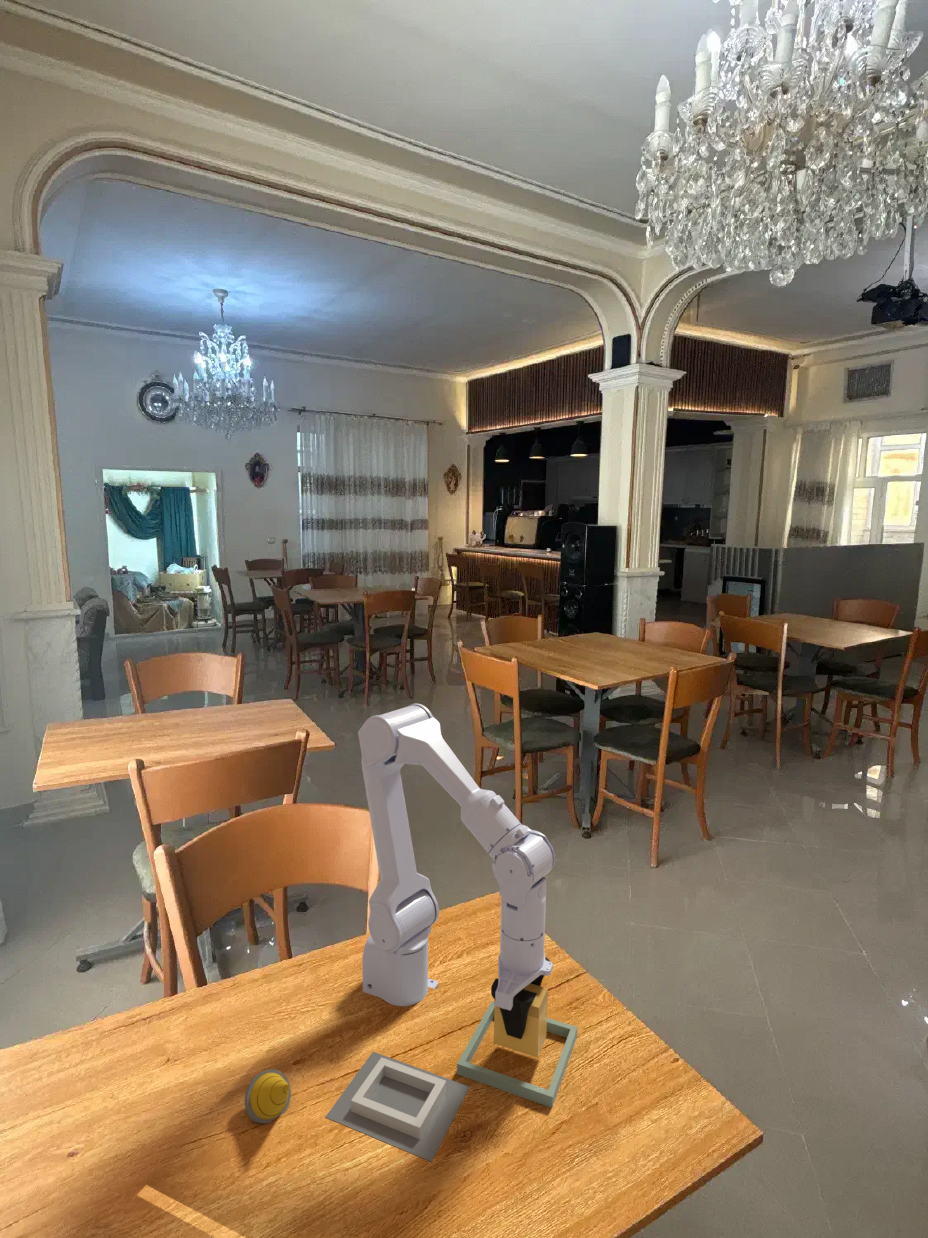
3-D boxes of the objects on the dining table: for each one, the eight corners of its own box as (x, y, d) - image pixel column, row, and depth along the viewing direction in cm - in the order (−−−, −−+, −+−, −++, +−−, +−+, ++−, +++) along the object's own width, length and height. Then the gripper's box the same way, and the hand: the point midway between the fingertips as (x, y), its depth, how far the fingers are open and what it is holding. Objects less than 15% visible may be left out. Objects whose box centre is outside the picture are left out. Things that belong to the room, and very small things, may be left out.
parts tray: (456, 1079, 87) (457, 1064, 86) (491, 1015, 98) (491, 1001, 98) (552, 1113, 82) (552, 1097, 81) (577, 1041, 93) (577, 1027, 93)
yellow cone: (287, 1089, 85) (318, 1073, 79) (264, 1137, 81) (296, 1125, 75) (252, 1066, 85) (281, 1049, 79) (227, 1113, 81) (256, 1099, 75)
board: (325, 1123, 80) (324, 1106, 80) (372, 1057, 90) (372, 1041, 90) (431, 1168, 75) (431, 1149, 74) (469, 1092, 85) (470, 1076, 84)
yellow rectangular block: (493, 1043, 89) (494, 995, 88) (504, 1023, 92) (505, 976, 92) (537, 1058, 86) (539, 1008, 86) (546, 1036, 90) (547, 988, 89)
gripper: (535, 969, 79) (532, 1073, 81) (567, 906, 92) (564, 997, 94) (480, 954, 82) (478, 1055, 84) (518, 895, 95) (516, 983, 97)
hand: (520, 1023), depth 89 cm, fingers closed on yellow rectangular block, 4 cm apart
